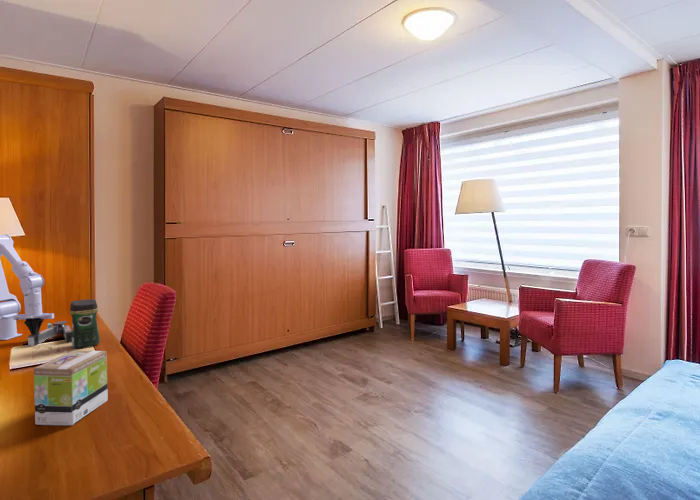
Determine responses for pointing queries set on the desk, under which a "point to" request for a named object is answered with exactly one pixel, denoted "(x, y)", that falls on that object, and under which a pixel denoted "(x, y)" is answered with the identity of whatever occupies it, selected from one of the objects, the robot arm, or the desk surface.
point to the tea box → (70, 387)
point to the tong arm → (44, 334)
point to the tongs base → (65, 332)
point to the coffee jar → (84, 323)
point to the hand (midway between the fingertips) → (35, 336)
